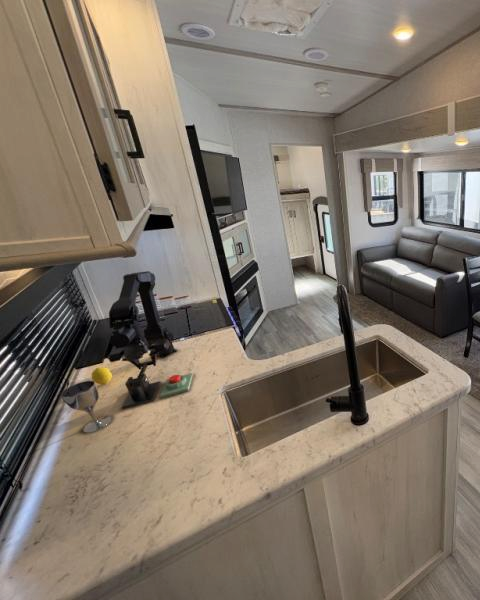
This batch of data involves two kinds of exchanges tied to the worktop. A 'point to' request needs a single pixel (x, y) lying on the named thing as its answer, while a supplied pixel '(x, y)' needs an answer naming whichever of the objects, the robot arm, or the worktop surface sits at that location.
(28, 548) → the worktop surface
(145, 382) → the bracket
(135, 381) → the lever
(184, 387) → the control block
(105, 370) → the lemon
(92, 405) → the wine glass
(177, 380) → the button
